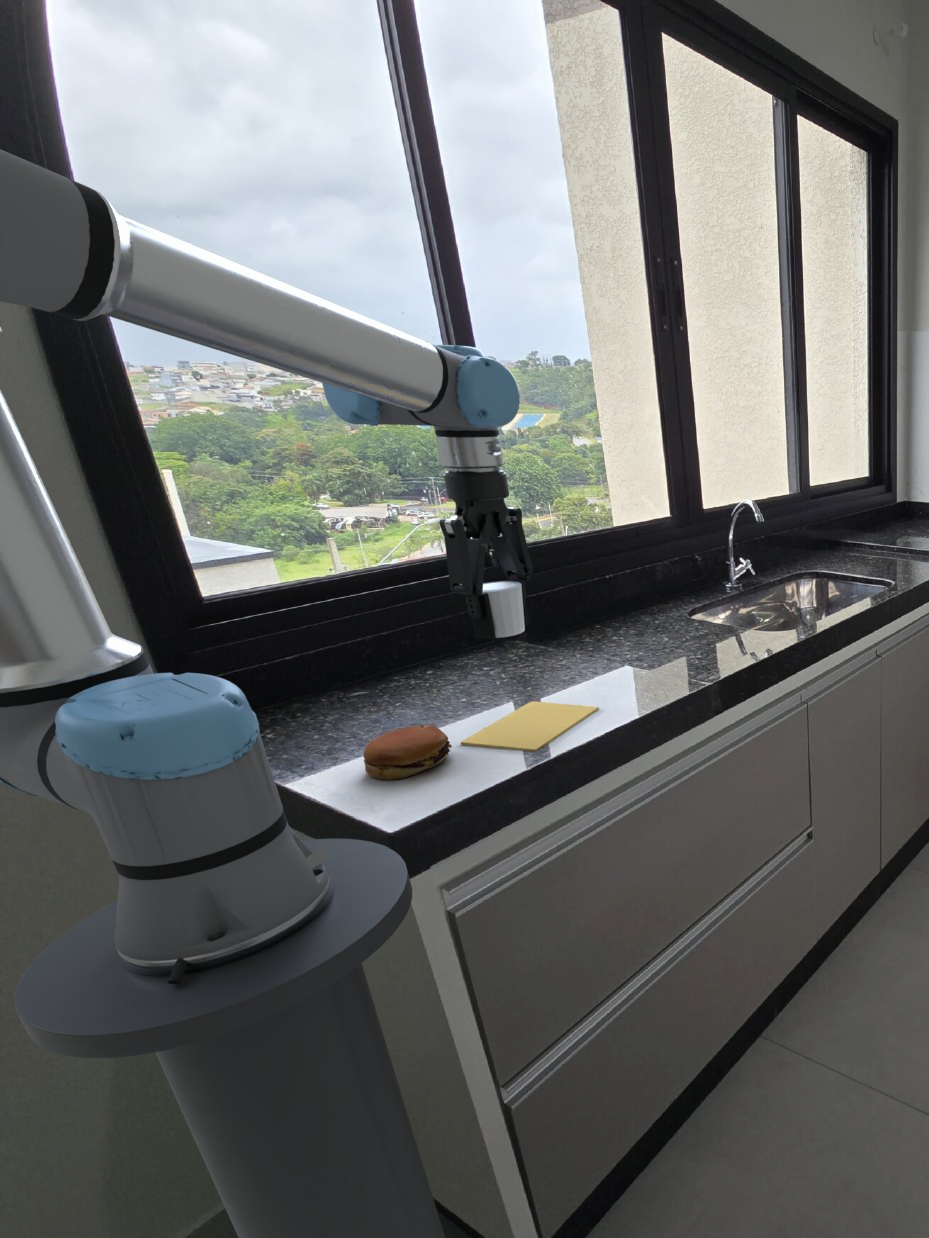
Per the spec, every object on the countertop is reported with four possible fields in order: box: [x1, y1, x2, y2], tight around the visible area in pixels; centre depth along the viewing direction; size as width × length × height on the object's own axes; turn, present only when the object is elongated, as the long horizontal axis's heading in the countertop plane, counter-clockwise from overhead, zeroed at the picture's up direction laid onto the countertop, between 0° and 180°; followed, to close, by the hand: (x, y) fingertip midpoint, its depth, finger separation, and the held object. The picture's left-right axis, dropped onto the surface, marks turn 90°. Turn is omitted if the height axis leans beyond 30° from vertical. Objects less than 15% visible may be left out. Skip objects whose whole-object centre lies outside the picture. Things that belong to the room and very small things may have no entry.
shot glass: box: [482, 580, 526, 639], centre depth 108 cm, size 7×7×7 cm
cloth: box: [459, 700, 600, 752], centre depth 113 cm, size 16×12×1 cm
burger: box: [363, 724, 453, 781], centre depth 100 cm, size 10×9×5 cm
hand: (503, 630), depth 109 cm, fingers closed on shot glass, 7 cm apart
